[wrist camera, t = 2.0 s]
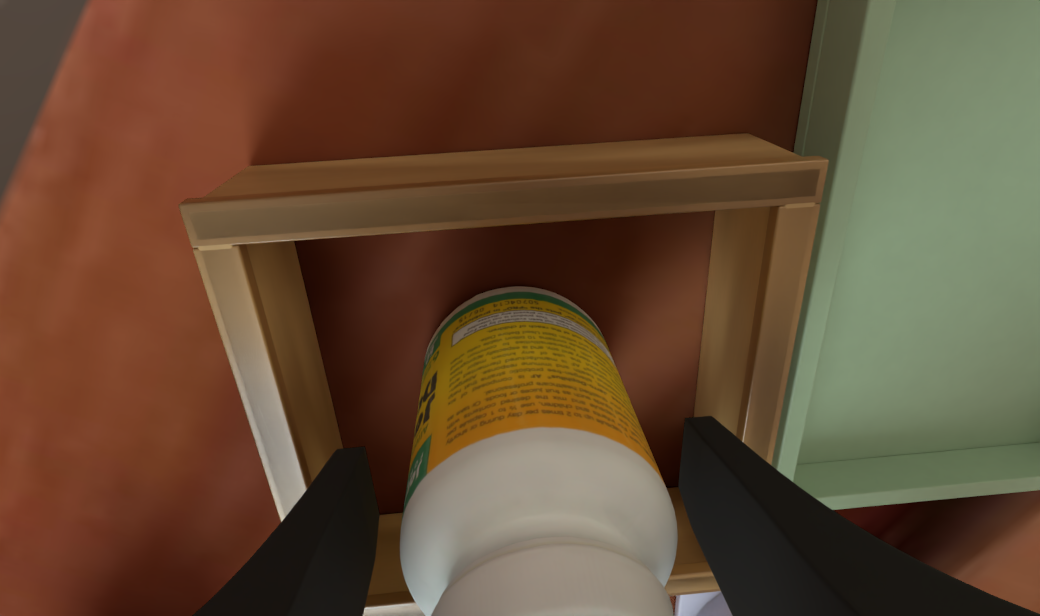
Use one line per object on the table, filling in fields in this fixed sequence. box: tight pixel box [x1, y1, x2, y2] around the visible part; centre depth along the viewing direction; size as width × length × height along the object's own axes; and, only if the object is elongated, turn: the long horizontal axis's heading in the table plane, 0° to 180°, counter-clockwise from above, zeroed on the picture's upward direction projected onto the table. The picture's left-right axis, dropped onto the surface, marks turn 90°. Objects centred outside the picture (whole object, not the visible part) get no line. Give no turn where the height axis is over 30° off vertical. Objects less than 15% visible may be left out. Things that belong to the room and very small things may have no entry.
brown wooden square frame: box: [179, 133, 829, 616], centre depth 16 cm, size 13×13×4 cm
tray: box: [771, 0, 1040, 510], centre depth 16 cm, size 16×11×2 cm
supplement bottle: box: [400, 286, 678, 616], centre depth 13 cm, size 5×5×10 cm
